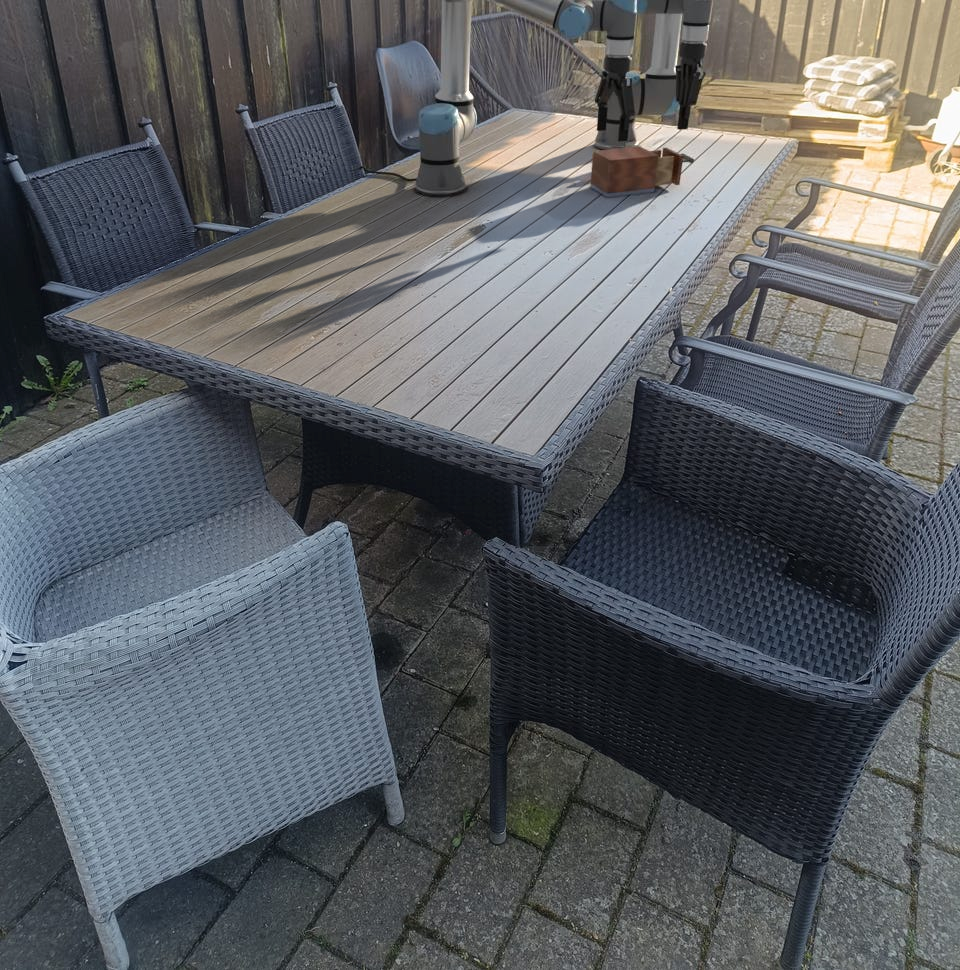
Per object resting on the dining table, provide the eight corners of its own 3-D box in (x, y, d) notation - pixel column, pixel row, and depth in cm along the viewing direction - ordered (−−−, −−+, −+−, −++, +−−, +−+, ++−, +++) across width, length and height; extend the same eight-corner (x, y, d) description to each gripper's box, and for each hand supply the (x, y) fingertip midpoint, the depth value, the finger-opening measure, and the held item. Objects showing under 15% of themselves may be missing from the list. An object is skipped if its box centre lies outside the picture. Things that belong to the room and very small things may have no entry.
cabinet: (636, 181, 265) (640, 146, 259) (654, 191, 257) (658, 155, 251) (590, 186, 261) (593, 151, 255) (607, 197, 252) (610, 160, 246)
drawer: (677, 174, 268) (681, 146, 263) (694, 183, 261) (698, 153, 256) (621, 180, 263) (624, 151, 258) (637, 189, 255) (640, 160, 250)
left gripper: (652, 62, 227) (643, 144, 239) (610, 48, 246) (603, 125, 259) (628, 63, 225) (620, 146, 237) (586, 49, 244) (581, 127, 256)
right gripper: (717, 44, 237) (704, 132, 251) (692, 37, 247) (681, 123, 261) (694, 45, 235) (682, 134, 249) (670, 39, 245) (660, 125, 259)
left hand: (611, 135), depth 248 cm, fingers open, 13 cm apart
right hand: (682, 128), depth 255 cm, fingers closed
